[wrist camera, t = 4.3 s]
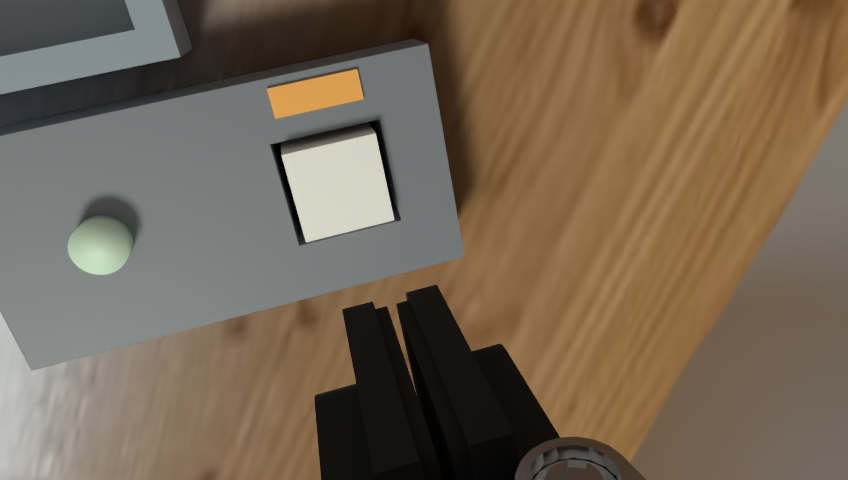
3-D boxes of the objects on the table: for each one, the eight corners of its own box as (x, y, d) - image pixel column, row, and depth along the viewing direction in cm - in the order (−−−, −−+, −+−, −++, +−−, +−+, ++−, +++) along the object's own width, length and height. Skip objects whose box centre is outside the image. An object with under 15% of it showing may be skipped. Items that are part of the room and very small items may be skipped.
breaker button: (366, 119, 23) (375, 133, 21) (383, 198, 25) (394, 220, 22) (280, 138, 23) (281, 155, 21) (303, 218, 24) (306, 242, 22)
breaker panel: (413, 38, 23) (433, 45, 20) (448, 234, 26) (470, 265, 23) (-44, 136, 21) (-97, 160, 18) (54, 335, 24) (22, 383, 21)
